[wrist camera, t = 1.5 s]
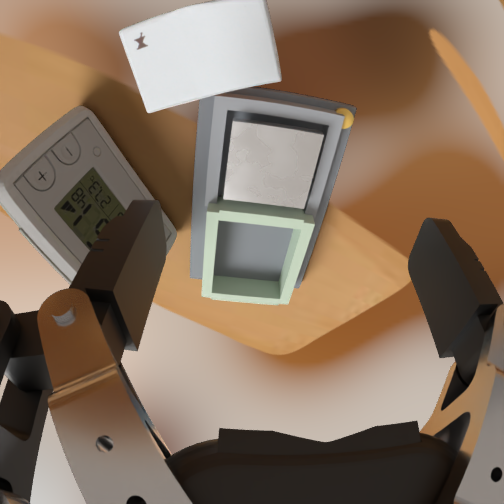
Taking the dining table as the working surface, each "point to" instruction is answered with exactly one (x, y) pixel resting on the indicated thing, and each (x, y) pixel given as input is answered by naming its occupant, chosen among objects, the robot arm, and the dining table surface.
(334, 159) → the grey green docking tray
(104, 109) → the dining table surface
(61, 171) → the digital clock
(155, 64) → the skincare box
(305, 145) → the cradle plate
